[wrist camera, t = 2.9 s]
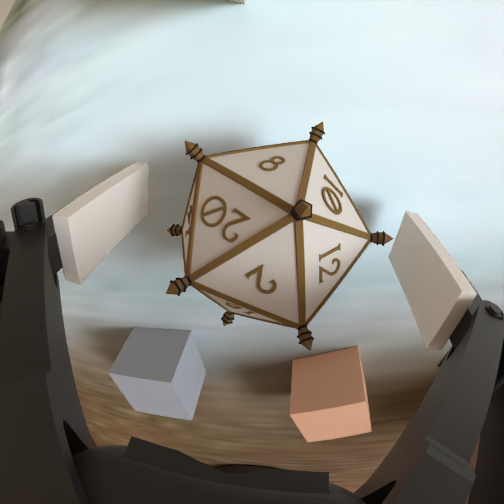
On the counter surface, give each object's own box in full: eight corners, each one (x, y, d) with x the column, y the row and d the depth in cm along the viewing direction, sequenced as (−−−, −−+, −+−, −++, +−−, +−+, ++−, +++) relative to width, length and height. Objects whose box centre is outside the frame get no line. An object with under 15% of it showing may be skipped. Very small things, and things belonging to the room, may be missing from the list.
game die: (251, 193, 20) (109, 260, 14) (306, 80, 13) (103, 106, 7) (347, 296, 18) (222, 412, 12) (448, 206, 11) (331, 376, 5)
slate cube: (206, 371, 24) (191, 420, 20) (154, 366, 25) (135, 410, 21) (191, 329, 22) (171, 382, 17) (134, 326, 23) (108, 372, 18)
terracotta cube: (365, 381, 23) (371, 431, 18) (308, 392, 24) (307, 442, 20) (357, 344, 21) (365, 401, 16) (292, 359, 22) (289, 414, 18)
